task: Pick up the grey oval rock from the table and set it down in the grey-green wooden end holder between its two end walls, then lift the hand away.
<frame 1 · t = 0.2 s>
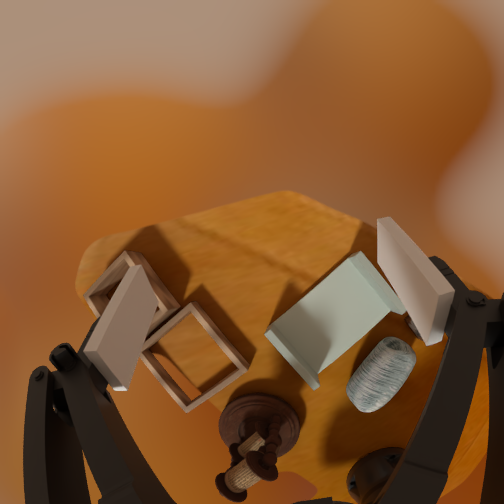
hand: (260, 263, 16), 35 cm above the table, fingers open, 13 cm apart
holder: (332, 316, 49), on the table
grey oval rock: (375, 368, 47), on the table
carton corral: (137, 300, 54), on the table
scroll: (260, 423, 49), on the table
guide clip: (416, 323, 46), on the table
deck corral: (192, 357, 51), on the table
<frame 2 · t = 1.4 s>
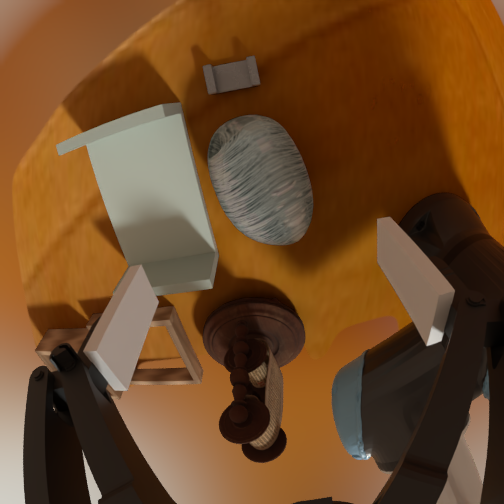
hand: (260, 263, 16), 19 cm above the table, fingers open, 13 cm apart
holder: (151, 194, 33), on the table
grey oval rock: (261, 170, 32), on the table
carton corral: (86, 353, 48), on the table
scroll: (253, 329, 44), on the table
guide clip: (233, 76, 27), on the table
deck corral: (148, 344, 46), on the table
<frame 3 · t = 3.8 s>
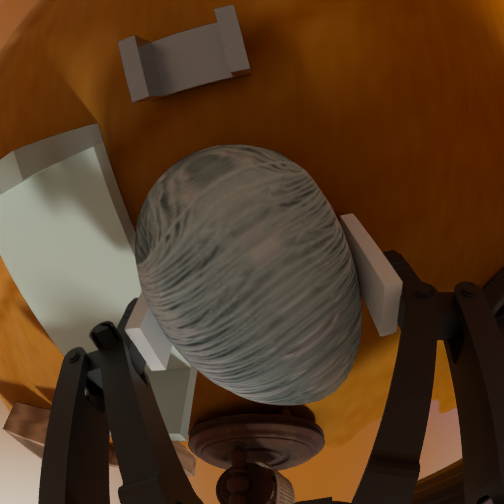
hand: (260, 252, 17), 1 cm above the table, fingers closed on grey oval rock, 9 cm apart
holder: (80, 282, 19), on the table
grey oval rock: (259, 245, 17), on the table, touching gripper
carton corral: (61, 429, 34), on the table
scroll: (256, 430, 29), on the table
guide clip: (193, 59, 12), on the table
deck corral: (125, 435, 31), on the table
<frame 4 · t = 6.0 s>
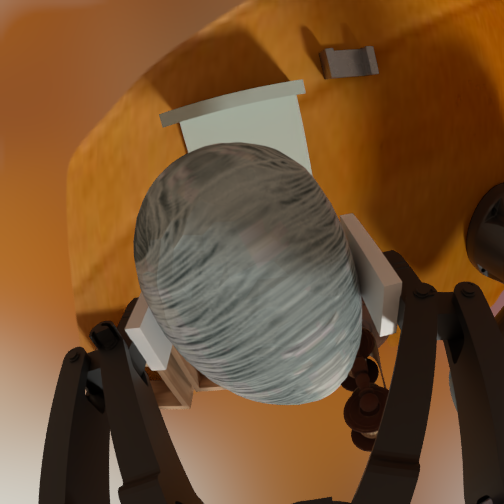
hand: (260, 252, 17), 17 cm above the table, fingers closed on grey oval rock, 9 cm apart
holder: (255, 179, 32), on the table
grey oval rock: (259, 244, 17), point 16 cm above the table, touching gripper
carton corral: (148, 361, 47), on the table
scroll: (342, 320, 42), on the table
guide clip: (344, 63, 25), on the table
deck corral: (226, 346, 44), on the table
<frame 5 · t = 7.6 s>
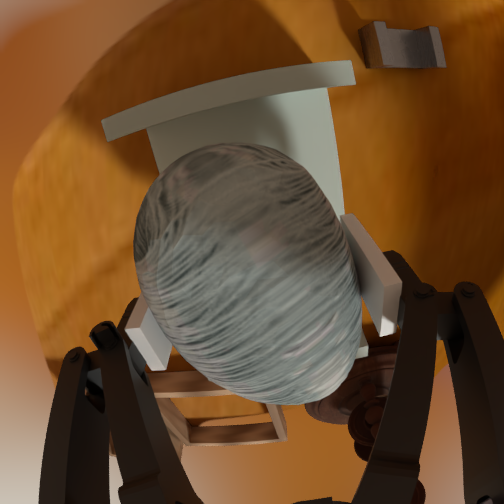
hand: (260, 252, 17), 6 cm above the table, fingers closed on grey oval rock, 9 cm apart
holder: (260, 214, 22), on the table
grey oval rock: (259, 244, 17), point 5 cm above the table, touching gripper
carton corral: (130, 411, 37), on the table
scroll: (361, 376, 32), on the table
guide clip: (393, 49, 15), on the table
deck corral: (220, 403, 34), on the table
when the fingers open (4 cm above the table, at t = 8.6 s): grey oval rock drops 2 cm, resting on holder.
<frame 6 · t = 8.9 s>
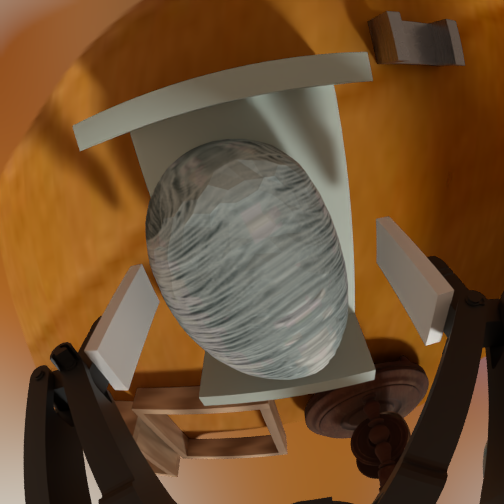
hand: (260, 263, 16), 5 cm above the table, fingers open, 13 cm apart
holder: (258, 226, 20), on the table
grey oval rock: (256, 233, 19), point 1 cm above the table, touching holder
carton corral: (125, 423, 35), on the table
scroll: (364, 390, 30), on the table
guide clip: (406, 43, 13), on the table
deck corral: (217, 418, 32), on the table
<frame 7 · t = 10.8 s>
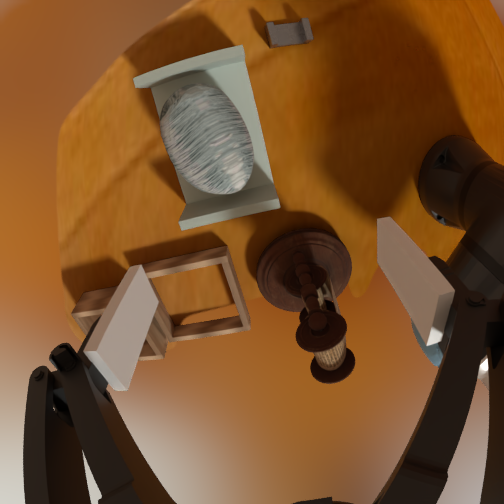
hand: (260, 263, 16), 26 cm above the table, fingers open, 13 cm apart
holder: (213, 132, 36), on the table
grey oval rock: (211, 134, 35), point 1 cm above the table, touching holder
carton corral: (125, 314, 51), on the table
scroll: (302, 265, 47), on the table
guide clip: (286, 35, 29), on the table
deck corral: (195, 293, 49), on the table
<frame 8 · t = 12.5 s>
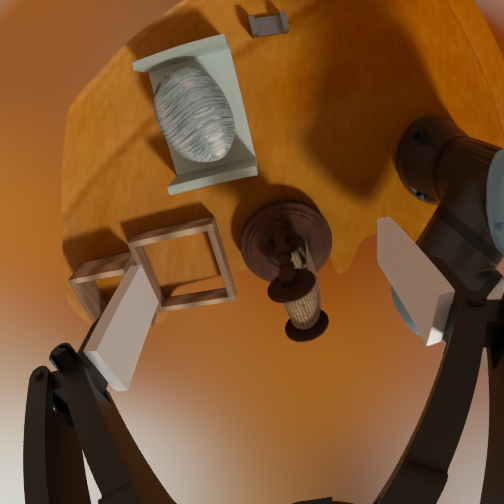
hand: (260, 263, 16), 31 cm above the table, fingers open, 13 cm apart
holder: (202, 112, 39), on the table
grey oval rock: (200, 112, 38), point 1 cm above the table, touching holder
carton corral: (119, 285, 54), on the table
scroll: (285, 238, 50), on the table
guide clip: (267, 26, 33), on the table
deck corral: (185, 263, 52), on the table
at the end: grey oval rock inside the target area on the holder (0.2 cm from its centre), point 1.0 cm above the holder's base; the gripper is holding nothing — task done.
